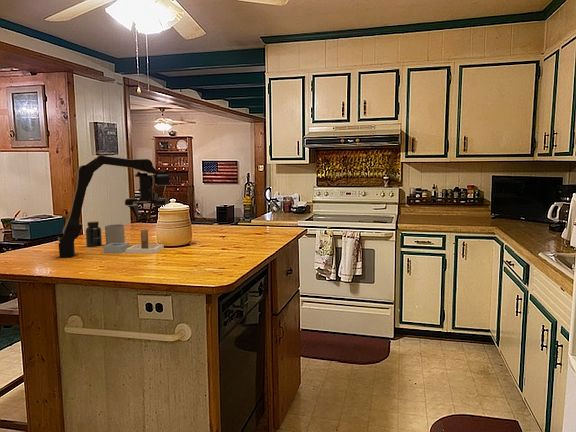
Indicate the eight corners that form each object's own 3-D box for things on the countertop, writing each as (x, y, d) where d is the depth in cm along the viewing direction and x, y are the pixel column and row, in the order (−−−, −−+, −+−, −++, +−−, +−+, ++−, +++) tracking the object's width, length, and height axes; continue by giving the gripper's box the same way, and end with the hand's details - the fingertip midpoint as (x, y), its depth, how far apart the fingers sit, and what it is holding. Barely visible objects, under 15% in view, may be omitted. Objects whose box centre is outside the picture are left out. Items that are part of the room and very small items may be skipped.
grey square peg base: (121, 254, 190) (121, 246, 190) (103, 254, 191) (103, 246, 190) (129, 250, 198) (128, 242, 198) (112, 250, 199) (111, 242, 198)
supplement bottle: (98, 248, 205) (96, 222, 203) (83, 248, 205) (82, 223, 203) (104, 245, 212) (103, 220, 210) (90, 245, 212) (89, 220, 210)
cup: (128, 244, 212) (126, 224, 211) (120, 248, 204) (118, 226, 203) (111, 244, 213) (110, 224, 212) (102, 248, 205) (101, 226, 204)
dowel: (147, 251, 193) (146, 231, 192) (140, 251, 193) (139, 231, 192) (149, 249, 196) (148, 229, 195) (142, 249, 196) (142, 229, 195)
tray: (155, 254, 189) (154, 249, 188) (125, 254, 189) (125, 249, 189) (163, 249, 200) (163, 244, 199) (135, 249, 200) (135, 244, 200)
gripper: (171, 185, 207) (173, 217, 209) (133, 185, 209) (135, 218, 210) (163, 186, 196) (165, 221, 198) (123, 187, 197) (125, 221, 199)
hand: (148, 220), depth 202 cm, fingers open, 9 cm apart
